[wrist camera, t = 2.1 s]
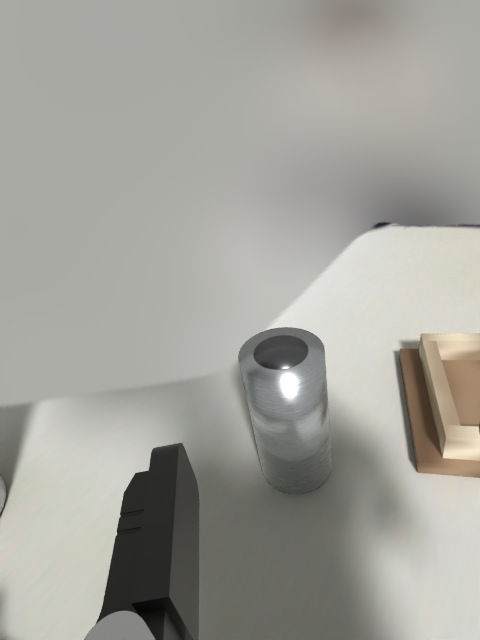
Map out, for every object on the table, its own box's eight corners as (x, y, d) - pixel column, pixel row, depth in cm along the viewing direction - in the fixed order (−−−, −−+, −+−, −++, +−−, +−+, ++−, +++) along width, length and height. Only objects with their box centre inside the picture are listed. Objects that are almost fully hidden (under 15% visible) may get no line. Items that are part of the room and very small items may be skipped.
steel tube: (255, 489, 27) (229, 378, 22) (267, 432, 31) (248, 327, 26) (330, 497, 26) (321, 381, 20) (333, 437, 30) (326, 326, 24)
